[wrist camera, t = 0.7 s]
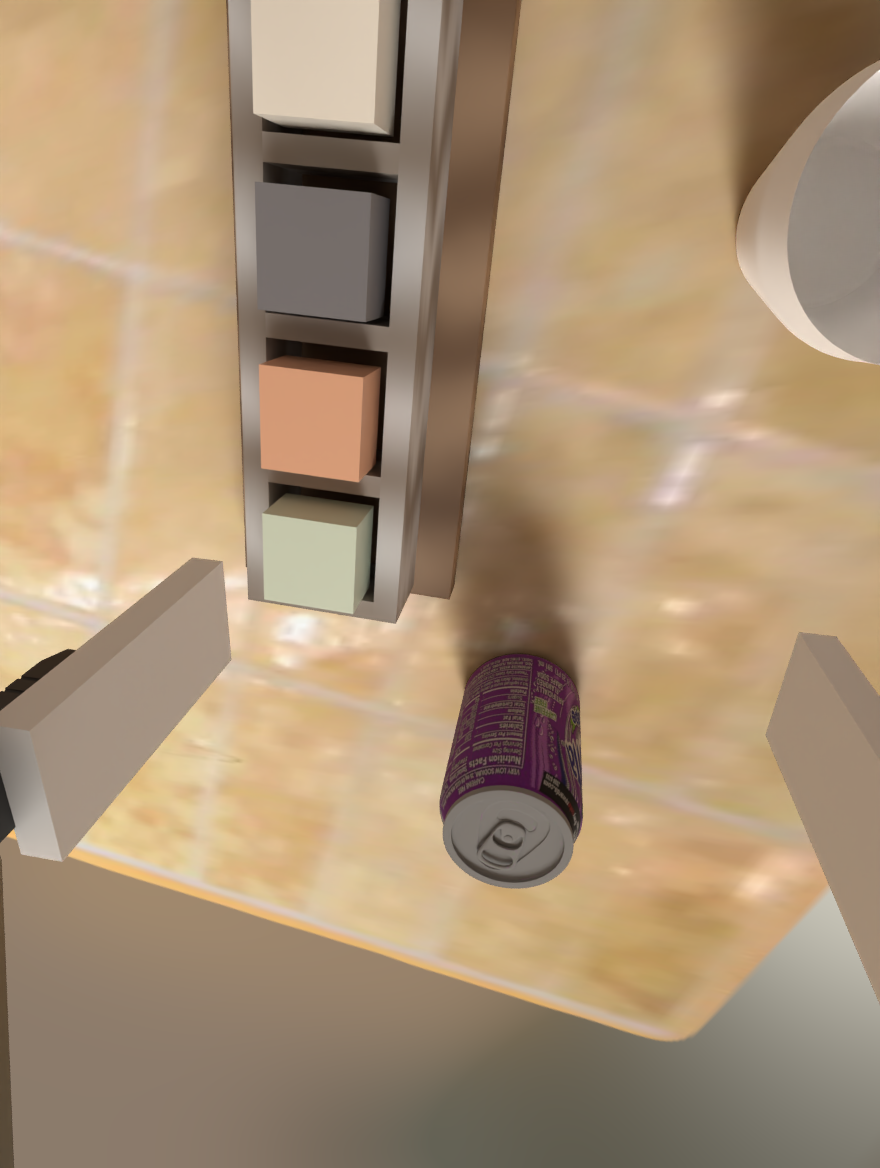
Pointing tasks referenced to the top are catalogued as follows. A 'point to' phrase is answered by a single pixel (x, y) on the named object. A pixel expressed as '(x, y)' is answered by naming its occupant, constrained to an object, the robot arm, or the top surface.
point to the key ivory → (326, 64)
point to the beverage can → (514, 774)
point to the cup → (822, 225)
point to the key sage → (317, 552)
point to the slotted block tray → (389, 284)
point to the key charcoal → (321, 251)
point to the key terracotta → (319, 417)
